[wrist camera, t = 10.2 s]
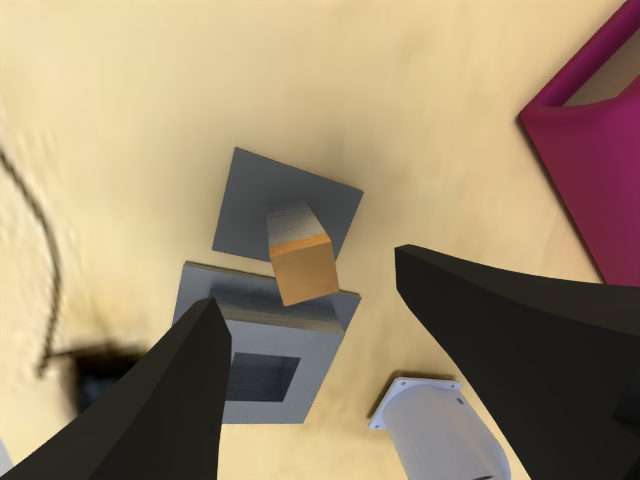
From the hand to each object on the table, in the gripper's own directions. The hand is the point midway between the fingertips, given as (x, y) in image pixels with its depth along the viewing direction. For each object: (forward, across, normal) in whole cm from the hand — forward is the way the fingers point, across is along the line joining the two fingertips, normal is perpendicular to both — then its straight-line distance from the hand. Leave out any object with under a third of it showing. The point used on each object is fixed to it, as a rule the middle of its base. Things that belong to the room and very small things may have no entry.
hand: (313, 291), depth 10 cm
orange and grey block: (+9, 0, 0) cm, 9 cm away
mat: (+9, 0, 0) cm, 9 cm away
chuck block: (+9, +5, +10) cm, 15 cm away
